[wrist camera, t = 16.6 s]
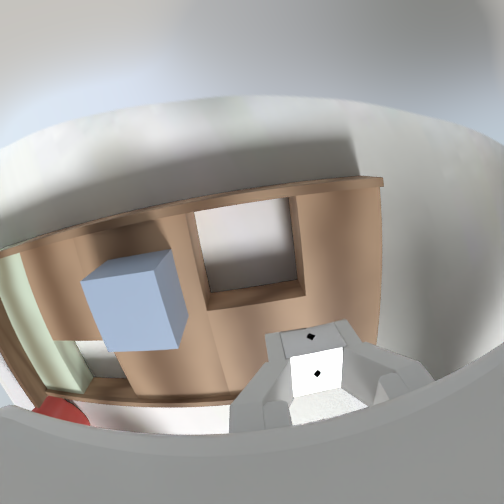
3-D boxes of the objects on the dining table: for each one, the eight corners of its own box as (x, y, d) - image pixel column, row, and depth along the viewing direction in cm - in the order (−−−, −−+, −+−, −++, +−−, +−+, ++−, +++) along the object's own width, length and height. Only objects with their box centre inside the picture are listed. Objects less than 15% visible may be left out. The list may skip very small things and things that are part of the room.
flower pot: (106, 443, 28) (89, 490, 19) (49, 419, 27) (27, 458, 18) (93, 404, 25) (67, 460, 16) (30, 376, 24) (-1, 419, 15)
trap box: (360, 175, 19) (402, 179, 14) (361, 353, 24) (384, 392, 18) (1, 248, 19) (-35, 266, 13) (55, 377, 24) (35, 407, 18)
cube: (171, 248, 17) (153, 270, 13) (188, 315, 19) (178, 348, 15) (107, 260, 17) (80, 281, 13) (128, 321, 19) (108, 351, 15)
